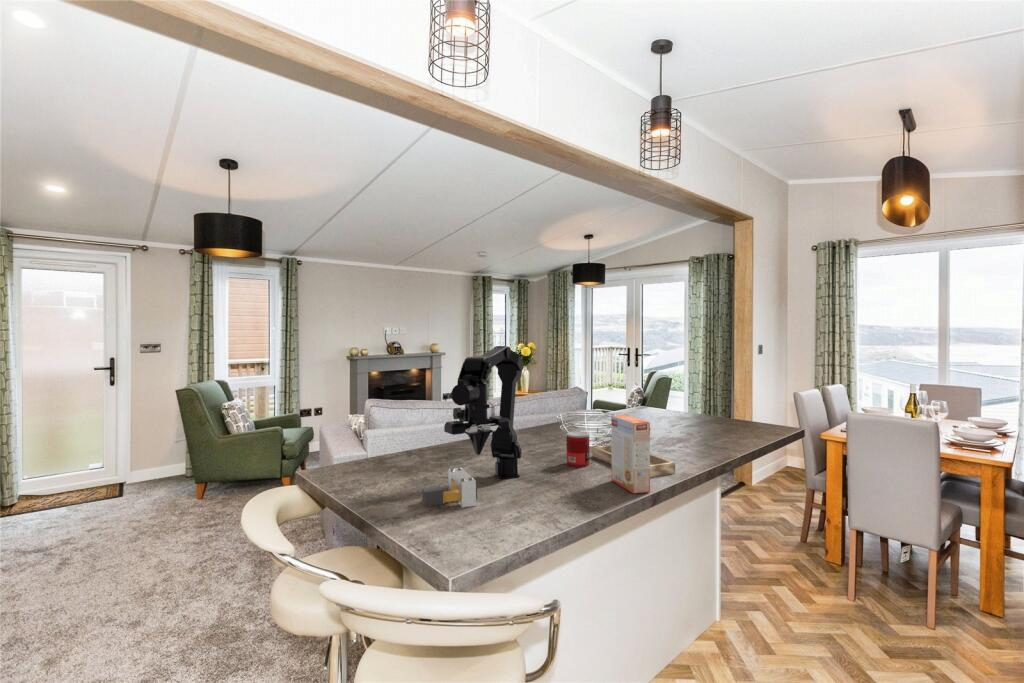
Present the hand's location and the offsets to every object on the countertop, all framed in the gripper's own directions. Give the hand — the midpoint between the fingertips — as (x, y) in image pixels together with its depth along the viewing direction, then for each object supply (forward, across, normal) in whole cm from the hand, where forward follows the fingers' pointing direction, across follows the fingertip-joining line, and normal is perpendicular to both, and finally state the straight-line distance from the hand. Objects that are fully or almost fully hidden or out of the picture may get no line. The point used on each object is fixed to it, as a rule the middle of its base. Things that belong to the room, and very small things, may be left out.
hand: (477, 454), depth 140 cm
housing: (+12, +5, -1) cm, 13 cm away
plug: (+12, +8, -2) cm, 15 cm away
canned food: (+12, -46, -9) cm, 48 cm away
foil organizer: (+12, -61, +2) cm, 62 cm away
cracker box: (+12, -42, +19) cm, 48 cm away
